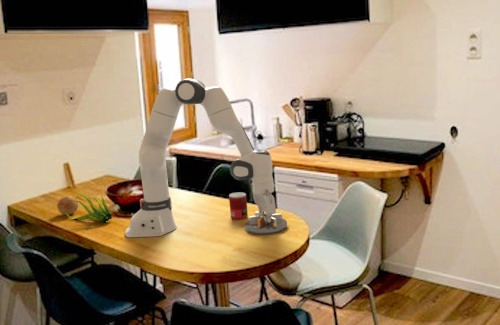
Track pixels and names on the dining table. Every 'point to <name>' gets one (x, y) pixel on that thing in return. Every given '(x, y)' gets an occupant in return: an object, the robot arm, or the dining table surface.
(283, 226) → the disc
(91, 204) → the decorative plant
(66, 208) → the onion
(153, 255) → the dining table surface
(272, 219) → the finned rotor disc
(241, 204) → the canned food
